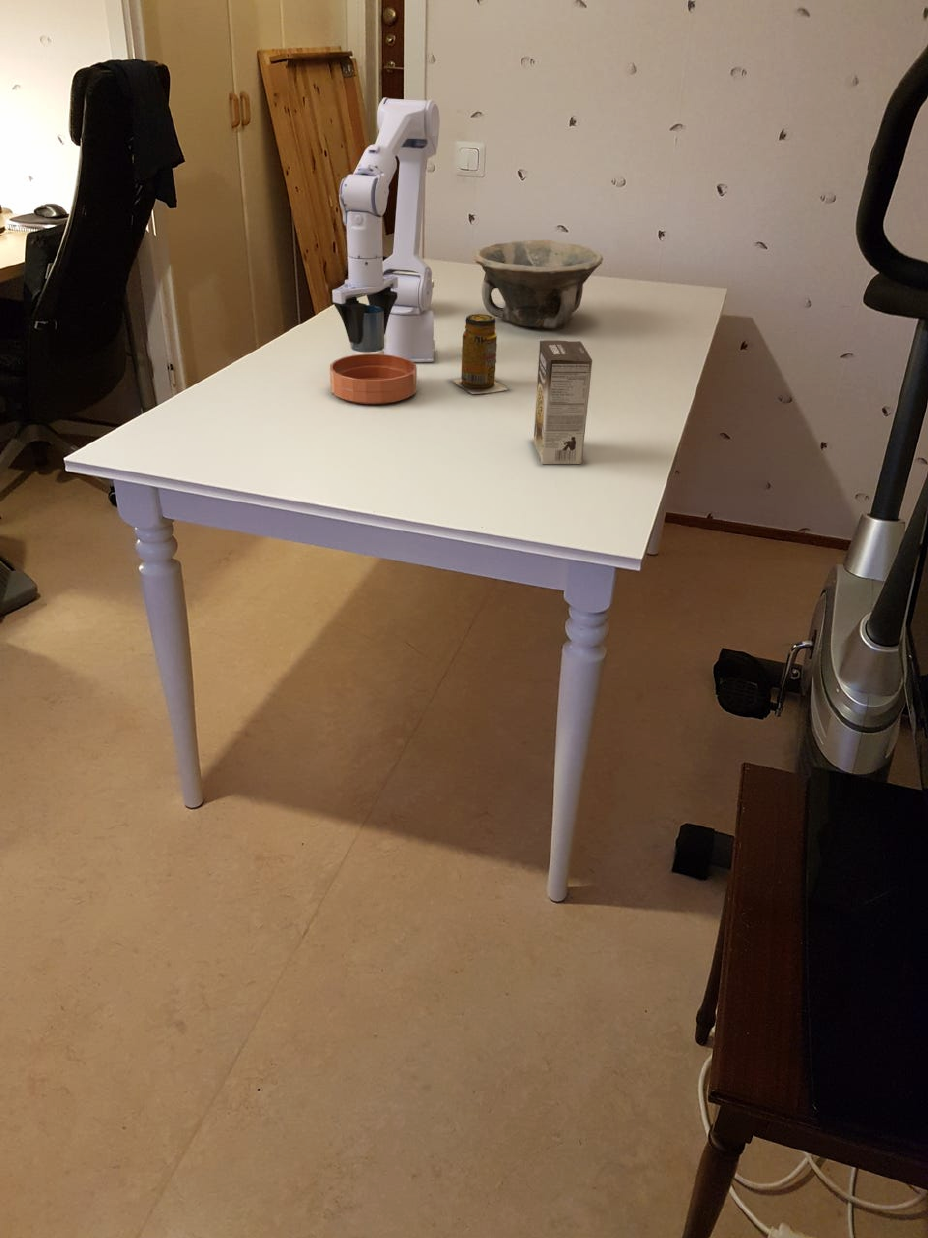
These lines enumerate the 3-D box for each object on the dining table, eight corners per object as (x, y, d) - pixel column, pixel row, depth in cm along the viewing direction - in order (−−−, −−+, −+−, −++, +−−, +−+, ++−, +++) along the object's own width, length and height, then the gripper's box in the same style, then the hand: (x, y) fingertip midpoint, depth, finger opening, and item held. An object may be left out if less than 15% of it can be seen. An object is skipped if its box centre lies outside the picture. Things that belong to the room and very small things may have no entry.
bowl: (453, 330, 199) (455, 256, 191) (497, 301, 220) (500, 233, 212) (575, 347, 191) (582, 271, 183) (608, 316, 212) (616, 246, 204)
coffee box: (531, 441, 149) (538, 339, 140) (571, 441, 149) (581, 339, 140) (540, 465, 141) (548, 358, 132) (582, 464, 141) (593, 358, 133)
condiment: (486, 376, 175) (489, 310, 168) (508, 390, 168) (511, 322, 162) (451, 380, 172) (452, 314, 165) (471, 395, 166) (473, 327, 159)
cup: (384, 342, 165) (383, 304, 162) (384, 352, 160) (383, 314, 157) (350, 342, 165) (349, 304, 161) (350, 352, 160) (348, 313, 156)
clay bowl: (414, 377, 173) (414, 353, 170) (418, 406, 160) (418, 380, 158) (332, 377, 172) (331, 353, 169) (329, 406, 159) (328, 380, 157)
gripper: (374, 244, 161) (376, 324, 169) (316, 258, 151) (321, 343, 158) (407, 250, 158) (407, 332, 165) (349, 265, 148) (353, 351, 155)
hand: (367, 338), depth 162 cm, fingers closed on cup, 6 cm apart
